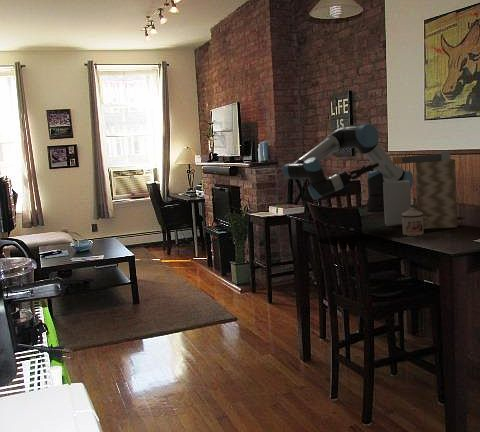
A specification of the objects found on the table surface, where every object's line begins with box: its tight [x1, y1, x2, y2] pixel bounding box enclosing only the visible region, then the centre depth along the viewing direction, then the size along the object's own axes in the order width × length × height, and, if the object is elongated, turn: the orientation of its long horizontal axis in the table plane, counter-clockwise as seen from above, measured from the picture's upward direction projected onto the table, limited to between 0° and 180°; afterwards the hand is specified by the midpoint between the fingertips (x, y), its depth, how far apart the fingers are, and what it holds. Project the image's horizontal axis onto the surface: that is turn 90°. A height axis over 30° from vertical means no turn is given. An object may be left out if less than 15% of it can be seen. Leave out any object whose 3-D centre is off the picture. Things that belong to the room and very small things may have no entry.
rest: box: [383, 180, 412, 227], centre depth 254 cm, size 12×10×20 cm
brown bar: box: [392, 150, 451, 165], centre depth 236 cm, size 24×8×4 cm, turn 76°
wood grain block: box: [414, 158, 458, 230], centre depth 237 cm, size 16×9×30 cm, turn 76°
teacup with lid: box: [401, 207, 430, 237], centre depth 226 cm, size 12×9×12 cm
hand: (381, 162), depth 247 cm, fingers open, 13 cm apart
